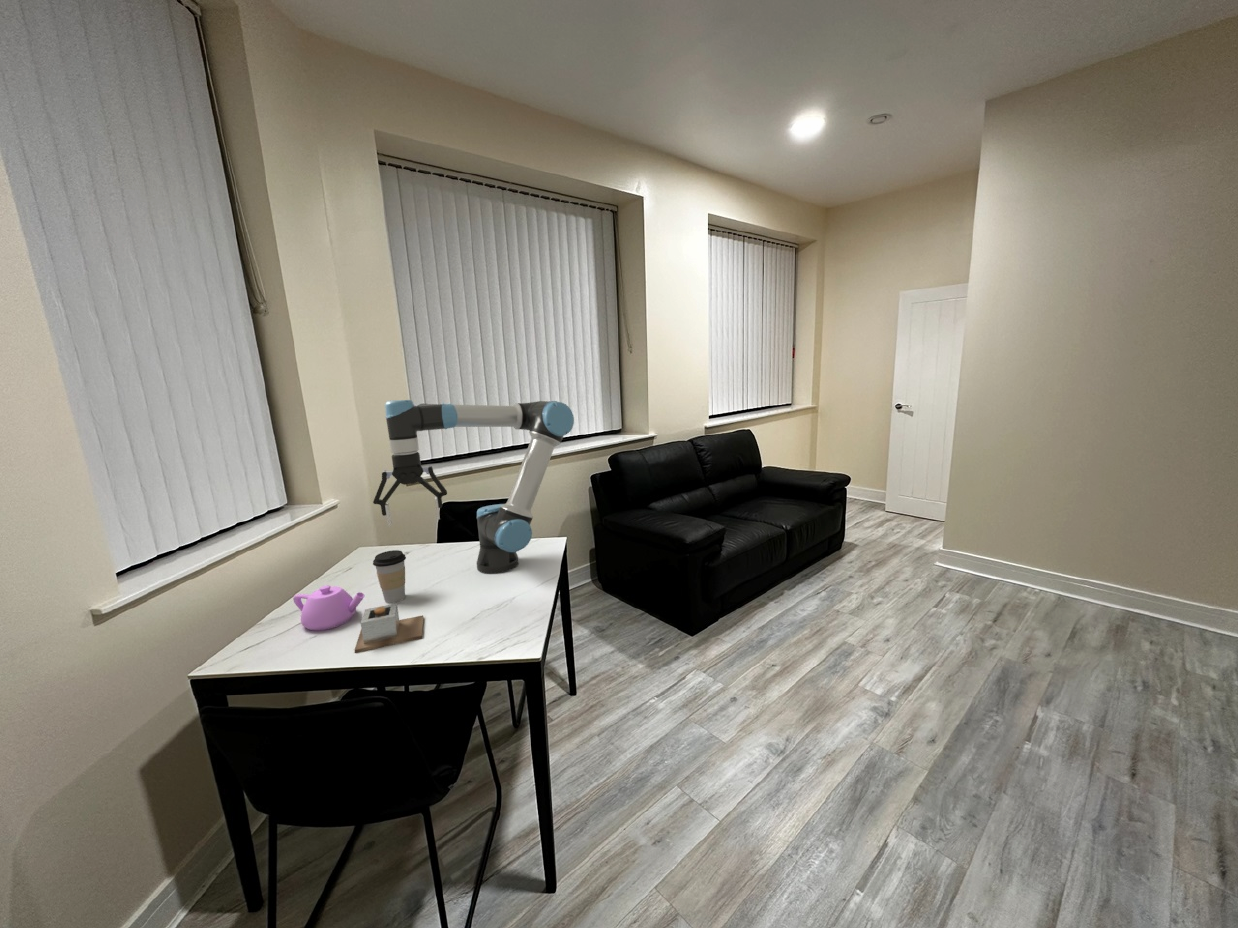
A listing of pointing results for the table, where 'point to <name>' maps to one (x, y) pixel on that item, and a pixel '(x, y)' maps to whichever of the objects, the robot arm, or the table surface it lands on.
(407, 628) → the keeper
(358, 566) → the table surface
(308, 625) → the teapot
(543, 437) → the robot arm
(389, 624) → the hollow square block
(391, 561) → the coffee cup
